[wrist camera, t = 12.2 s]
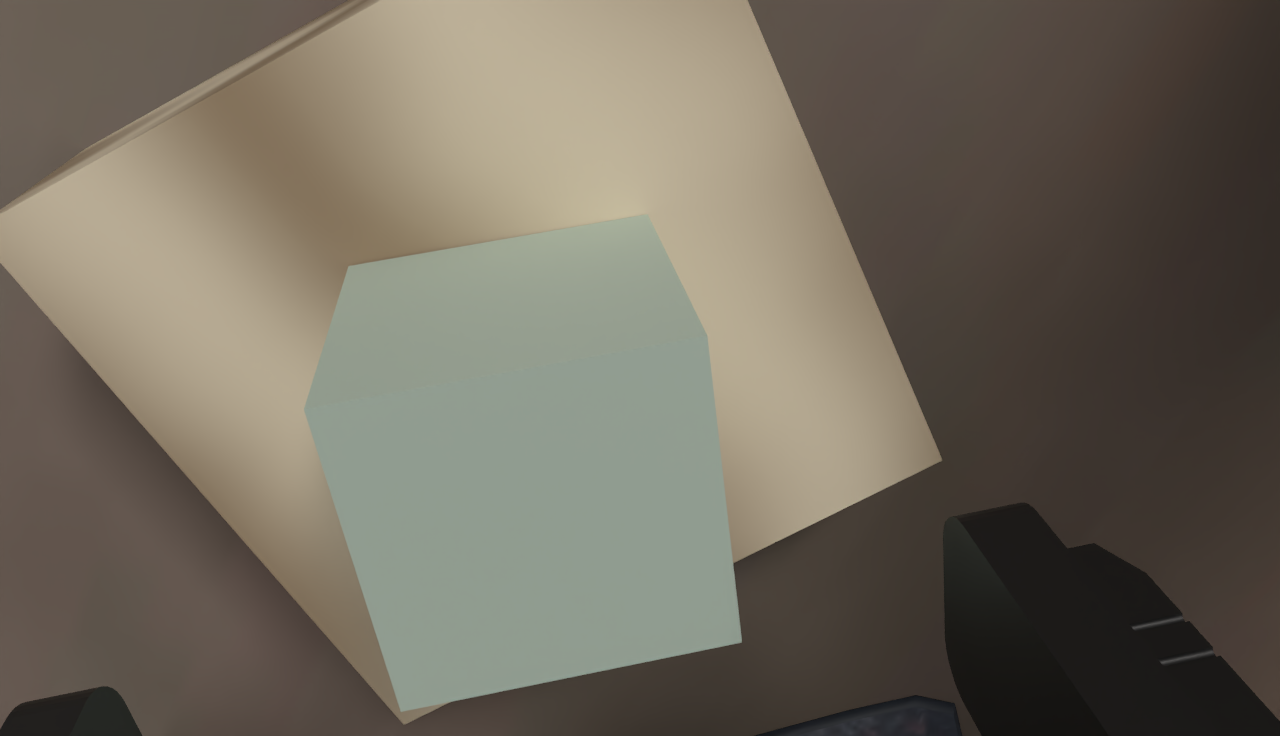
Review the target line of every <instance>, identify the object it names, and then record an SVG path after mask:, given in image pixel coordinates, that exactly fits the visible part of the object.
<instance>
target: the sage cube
mask: <svg viewBox="0 0 1280 736" xmlns="http://www.w3.org/2000/svg"><path fill="white" fill-rule="evenodd" d="M304 411H305V415H306V418H307V421H308V424H309V427H310V430H311V433H312V436H313V440H314V443H315V446H316V449H317V452H318V455H319V458H320V461H321V464H322V468H323V471H324V474H325V477H326V480H327V483H328V486H329V489H330V492H331V496H332V499H333V502H334V505H335V508H336V511H337V514H338V517H339V521H340V524H341V527H342V530H343V533H344V536H345V539H346V542H347V545H348V549H349V552H350V555H351V558H352V561H353V564H354V567H355V570H356V574H357V577H358V580H359V583H360V586H361V589H362V592H363V595H364V598H365V602H366V605H367V608H368V611H369V614H370V617H371V620H372V623H373V627H374V630H375V633H376V636H377V639H378V642H379V645H380V648H381V651H382V655H383V658H384V661H385V664H386V667H387V670H388V673H389V676H390V680H391V683H392V686H393V689H394V692H395V695H396V698H397V701H398V704H399V708H400V711H401V712H403V711H408V710H413V709H418V708H423V707H428V706H432V705H437V704H442V703H447V702H452V701H457V700H462V699H467V698H472V697H477V696H482V695H486V694H491V693H496V692H501V691H506V690H511V689H516V688H521V687H526V686H531V685H535V684H540V683H545V682H550V681H555V680H560V679H565V678H570V677H575V676H580V675H585V674H589V673H594V672H599V671H604V670H609V669H614V668H619V667H624V666H629V665H634V664H638V663H643V662H648V661H653V660H658V659H663V658H668V657H673V656H678V655H683V654H688V653H692V652H697V651H702V650H707V649H712V648H717V647H722V646H727V645H732V644H737V643H741V642H742V638H741V629H740V620H739V611H738V603H737V594H736V585H735V576H734V567H733V558H732V549H731V541H730V532H729V523H728V514H727V505H726V496H725V487H724V479H723V470H722V461H721V452H720V443H719V434H718V425H717V417H716V408H715V399H714V390H713V381H712V372H711V363H710V355H709V346H708V337H707V334H706V332H705V330H704V328H703V326H702V324H701V322H700V320H699V318H698V316H697V314H696V312H695V310H694V307H693V305H692V303H691V301H690V299H689V297H688V295H687V293H686V291H685V289H684V287H683V285H682V283H681V281H680V279H679V277H678V275H677V273H676V271H675V269H674V267H673V265H672V263H671V261H670V259H669V257H668V255H667V253H666V251H665V249H664V247H663V244H662V242H661V240H660V238H659V236H658V234H657V232H656V230H655V228H654V226H653V224H652V222H651V220H650V218H649V216H648V214H645V215H640V216H634V217H628V218H622V219H617V220H611V221H605V222H599V223H594V224H588V225H582V226H576V227H571V228H565V229H559V230H553V231H548V232H542V233H536V234H530V235H524V236H519V237H513V238H507V239H501V240H496V241H490V242H484V243H478V244H473V245H467V246H461V247H455V248H450V249H444V250H438V251H432V252H427V253H421V254H415V255H409V256H403V257H398V258H392V259H386V260H380V261H375V262H369V263H363V264H357V265H352V266H348V269H347V273H346V276H345V279H344V282H343V285H342V289H341V292H340V295H339V298H338V301H337V305H336V308H335V311H334V314H333V317H332V321H331V324H330V327H329V330H328V333H327V337H326V340H325V343H324V346H323V349H322V353H321V356H320V359H319V362H318V365H317V369H316V372H315V375H314V378H313V381H312V385H311V388H310V391H309V394H308V398H307V401H306V404H305V407H304Z"/></svg>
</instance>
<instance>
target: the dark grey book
mask: <svg viewBox="0 0 1280 736" xmlns="http://www.w3.org/2000/svg"><path fill="white" fill-rule="evenodd" d="M756 736H962V733H961V729H960V724H959V720H958V716H957V711H956V707H955V704H954V703H950V702H945V701H940V700H936V699H931V698H926V697H921V696H917V695H916V696H911V697H906V698H902V699H897V700H893V701H888V702H884V703H879V704H875V705H870V706H866V707H861V708H856V709H852V710H848V711H844V712H841V713H837V714H833V715H829V716H826V717H822V718H818V719H815V720H811V721H807V722H804V723H800V724H796V725H792V726H789V727H785V728H781V729H778V730H774V731H770V732H767V733H763V734H759V735H756Z"/></svg>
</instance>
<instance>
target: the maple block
mask: <svg viewBox="0 0 1280 736" xmlns="http://www.w3.org/2000/svg"><path fill="white" fill-rule="evenodd" d="M645 214H648V216H649V218H650V220H651V222H652V224H653V226H654V228H655V230H656V232H657V234H658V236H659V238H660V240H661V242H662V244H663V247H664V249H665V251H666V253H667V255H668V257H669V259H670V261H671V263H672V265H673V267H674V269H675V271H676V273H677V275H678V277H679V279H680V281H681V283H682V285H683V287H684V289H685V291H686V293H687V295H688V297H689V299H690V301H691V303H692V305H693V307H694V310H695V312H696V314H697V316H698V318H699V320H700V322H701V324H702V326H703V328H704V330H705V332H706V334H707V337H708V346H709V355H710V363H711V372H712V381H713V390H714V399H715V408H716V417H717V425H718V434H719V443H720V452H721V461H722V470H723V479H724V487H725V496H726V505H727V514H728V523H729V532H730V541H731V549H732V558H733V563H734V562H736V561H738V560H740V559H743V558H745V557H747V556H749V555H751V554H753V553H755V552H757V551H759V550H761V549H763V548H765V547H767V546H769V545H771V544H773V543H775V542H777V541H779V540H781V539H783V538H785V537H787V536H789V535H791V534H793V533H795V532H797V531H800V530H802V529H804V528H806V527H808V526H810V525H812V524H814V523H816V522H818V521H820V520H822V519H824V518H826V517H828V516H830V515H832V514H834V513H836V512H838V511H840V510H842V509H844V508H846V507H848V506H850V505H852V504H855V503H857V502H859V501H861V500H863V499H865V498H867V497H869V496H871V495H873V494H875V493H877V492H879V491H881V490H883V489H885V488H887V487H889V486H891V485H893V484H895V483H897V482H899V481H901V480H903V479H905V478H907V477H909V476H912V475H914V474H916V473H918V472H920V471H922V470H924V469H926V468H928V467H930V466H932V465H934V464H936V463H938V462H940V461H942V458H941V456H940V453H939V451H938V448H937V446H936V444H935V441H934V439H933V437H932V434H931V432H930V430H929V427H928V425H927V423H926V420H925V418H924V415H923V413H922V411H921V408H920V406H919V404H918V401H917V399H916V397H915V394H914V392H913V390H912V387H911V385H910V382H909V380H908V378H907V375H906V373H905V371H904V368H903V366H902V364H901V361H900V359H899V356H898V354H897V352H896V349H895V347H894V345H893V342H892V340H891V338H890V335H889V333H888V331H887V328H886V326H885V323H884V321H883V319H882V316H881V314H880V312H879V309H878V307H877V305H876V302H875V300H874V298H873V295H872V293H871V290H870V288H869V286H868V283H867V281H866V279H865V276H864V274H863V272H862V269H861V267H860V265H859V262H858V260H857V257H856V255H855V253H854V250H853V248H852V246H851V243H850V241H849V239H848V236H847V234H846V232H845V229H844V227H843V224H842V222H841V220H840V217H839V215H838V213H837V210H836V208H835V206H834V203H833V201H832V199H831V196H830V194H829V191H828V189H827V187H826V184H825V182H824V180H823V177H822V175H821V173H820V170H819V168H818V166H817V163H816V161H815V158H814V156H813V154H812V151H811V149H810V147H809V144H808V142H807V140H806V137H805V135H804V133H803V130H802V128H801V125H800V123H799V121H798V118H797V116H796V114H795V111H794V109H793V107H792V104H791V102H790V100H789V97H788V95H787V92H786V90H785V88H784V85H783V83H782V81H781V78H780V76H779V74H778V71H777V69H776V67H775V64H774V62H773V59H772V57H771V55H770V52H769V50H768V48H767V45H766V43H765V41H764V38H763V36H762V34H761V31H760V29H759V26H758V24H757V22H756V19H755V17H754V15H753V12H752V10H751V8H750V5H749V3H748V1H747V0H348V1H347V2H345V3H343V4H341V5H340V6H338V7H336V8H334V9H332V10H331V11H329V12H327V13H325V14H324V15H322V16H320V17H318V18H317V19H315V20H313V21H311V22H309V23H308V24H306V25H304V26H302V27H301V28H299V29H297V30H295V31H293V32H292V33H290V34H288V35H286V36H285V37H283V38H281V39H279V40H278V41H276V42H274V43H272V44H270V45H269V46H267V47H265V48H263V49H262V50H260V51H258V52H256V53H254V54H253V55H251V56H249V57H247V58H246V59H244V60H242V61H240V62H239V63H237V64H235V65H233V66H231V67H230V68H228V69H226V70H224V71H223V72H221V73H219V74H217V75H215V76H214V77H212V78H210V79H208V80H207V81H205V82H203V83H201V84H200V85H198V86H196V87H194V88H192V89H191V90H189V91H187V92H185V93H184V94H182V95H180V96H178V97H176V98H175V99H173V100H171V101H169V102H168V103H166V104H164V105H162V106H161V107H159V108H157V109H155V110H153V111H152V112H150V113H148V114H146V115H145V116H143V117H141V118H139V119H137V120H136V121H134V122H132V123H130V124H129V125H127V126H125V127H123V128H122V129H120V130H118V131H116V132H114V133H113V134H111V135H109V136H107V137H106V138H104V139H102V140H100V141H98V142H97V143H95V144H93V145H91V146H90V147H88V148H86V149H85V150H83V151H82V152H80V153H79V154H78V155H76V156H75V157H73V158H72V159H71V160H69V161H68V162H66V163H65V164H64V165H62V166H61V167H59V168H58V169H57V170H55V171H54V172H52V173H51V174H50V175H48V176H47V177H45V178H44V179H43V180H41V181H40V182H39V183H37V184H36V185H34V186H33V187H32V188H30V189H29V190H27V191H26V192H25V193H23V194H22V195H20V196H19V197H18V198H16V199H15V200H13V201H12V202H11V203H9V204H8V205H6V206H5V207H4V208H2V209H1V210H0V263H1V264H2V265H3V266H4V267H5V268H6V270H7V271H8V272H9V273H10V274H11V275H12V276H13V278H14V279H15V280H16V281H17V282H18V283H19V284H20V286H21V287H22V288H23V289H24V290H25V291H26V292H27V294H28V295H29V296H30V297H31V298H32V299H33V300H34V302H35V303H36V304H37V305H38V306H39V307H40V308H41V310H42V311H43V312H44V313H45V314H46V315H47V316H48V318H49V319H50V320H51V321H52V322H53V323H54V325H55V326H56V327H57V328H58V329H59V330H60V331H61V333H62V334H63V335H64V336H65V337H66V338H67V339H68V341H69V342H70V343H71V344H72V345H73V346H74V347H75V349H76V350H77V351H78V352H79V353H80V354H81V355H82V357H83V358H84V359H85V360H86V361H87V362H88V363H89V365H90V366H91V367H92V368H93V369H94V370H95V371H96V373H97V374H98V375H99V376H100V377H101V378H102V380H103V381H104V382H105V383H106V384H107V385H108V386H109V388H110V389H111V390H112V391H113V392H114V393H115V394H116V396H117V397H118V398H119V399H120V400H121V401H122V402H123V404H124V405H125V406H126V407H127V408H128V409H129V410H130V412H131V413H132V414H133V415H134V416H135V417H136V418H137V420H138V421H139V422H140V423H141V424H142V425H143V426H144V428H145V429H146V430H147V431H148V432H149V433H150V434H151V436H152V437H153V438H154V439H155V440H156V441H157V443H158V444H159V445H160V446H161V447H162V448H163V449H164V451H165V452H166V453H167V454H168V455H169V456H170V457H171V459H172V460H173V461H174V462H175V463H176V464H177V465H178V467H179V468H180V469H181V470H182V471H183V472H184V473H185V475H186V476H187V477H188V478H189V479H190V480H191V481H192V483H193V484H194V485H195V486H196V487H197V488H198V489H199V491H200V492H201V493H202V494H203V495H204V496H205V498H206V499H207V500H208V501H209V502H210V503H211V504H212V506H213V507H214V508H215V509H216V510H217V511H218V512H219V514H220V515H221V516H222V517H223V518H224V519H225V520H226V522H227V523H228V524H229V525H230V526H231V527H232V528H233V530H234V531H235V532H236V533H237V534H238V535H239V536H240V538H241V539H242V540H243V541H244V542H245V543H246V544H247V546H248V547H249V548H250V549H251V550H252V551H253V553H254V554H255V555H256V556H257V557H258V558H259V559H260V561H261V562H262V563H263V564H264V565H265V566H266V567H267V569H268V570H269V571H270V572H271V573H272V574H273V575H274V577H275V578H276V579H277V580H278V581H279V582H280V583H281V585H282V586H283V587H284V588H285V589H286V590H287V591H288V593H289V594H290V595H291V596H292V597H293V598H294V599H295V601H296V602H297V603H298V604H299V605H300V606H301V608H302V609H303V610H304V611H305V612H306V613H307V614H308V616H309V617H310V618H311V619H312V620H313V621H314V622H315V624H316V625H317V626H318V627H319V628H320V629H321V630H322V632H323V633H324V634H325V635H326V636H327V637H328V638H329V640H330V641H331V642H332V643H333V644H334V645H335V646H336V648H337V649H338V650H339V651H340V652H341V653H342V654H343V656H344V657H345V658H346V659H347V660H348V661H349V662H350V664H351V665H352V666H353V667H354V668H355V669H356V671H357V672H358V673H359V674H360V675H361V676H362V677H363V679H364V680H365V681H366V682H367V683H368V684H369V685H370V687H371V688H372V689H373V690H374V691H375V692H376V693H377V695H378V696H379V697H380V698H381V699H382V700H383V701H384V703H385V704H386V705H387V706H388V707H389V708H390V709H391V711H392V712H393V713H394V714H395V715H396V716H397V717H398V719H399V720H400V721H401V722H402V723H403V724H404V725H405V724H407V723H409V722H411V721H413V720H415V719H417V718H419V717H421V716H423V715H425V714H427V713H429V712H431V711H433V710H435V709H437V708H439V707H441V706H443V705H445V704H447V703H449V702H447V703H442V704H437V705H432V706H428V707H423V708H418V709H413V710H408V711H403V712H401V711H400V708H399V704H398V701H397V698H396V695H395V692H394V689H393V686H392V683H391V680H390V676H389V673H388V670H387V667H386V664H385V661H384V658H383V655H382V651H381V648H380V645H379V642H378V639H377V636H376V633H375V630H374V627H373V623H372V620H371V617H370V614H369V611H368V608H367V605H366V602H365V598H364V595H363V592H362V589H361V586H360V583H359V580H358V577H357V574H356V570H355V567H354V564H353V561H352V558H351V555H350V552H349V549H348V545H347V542H346V539H345V536H344V533H343V530H342V527H341V524H340V521H339V517H338V514H337V511H336V508H335V505H334V502H333V499H332V496H331V492H330V489H329V486H328V483H327V480H326V477H325V474H324V471H323V468H322V464H321V461H320V458H319V455H318V452H317V449H316V446H315V443H314V440H313V436H312V433H311V430H310V427H309V424H308V421H307V418H306V415H305V411H304V407H305V404H306V401H307V398H308V394H309V391H310V388H311V385H312V381H313V378H314V375H315V372H316V369H317V365H318V362H319V359H320V356H321V353H322V349H323V346H324V343H325V340H326V337H327V333H328V330H329V327H330V324H331V321H332V317H333V314H334V311H335V308H336V305H337V301H338V298H339V295H340V292H341V289H342V285H343V282H344V279H345V276H346V273H347V269H348V266H352V265H357V264H363V263H369V262H375V261H380V260H386V259H392V258H398V257H403V256H409V255H415V254H421V253H427V252H432V251H438V250H444V249H450V248H455V247H461V246H467V245H473V244H478V243H484V242H490V241H496V240H501V239H507V238H513V237H519V236H524V235H530V234H536V233H542V232H548V231H553V230H559V229H565V228H571V227H576V226H582V225H588V224H594V223H599V222H605V221H611V220H617V219H622V218H628V217H634V216H640V215H645Z"/></svg>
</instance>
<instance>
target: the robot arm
mask: <svg viewBox="0 0 1280 736" xmlns="http://www.w3.org/2000/svg"><path fill="white" fill-rule="evenodd" d="M943 550H944V608H945V642H946V649H947V655H948V659H949V664H950V667H951V671H952V674H953V678H954V681H955V683H956V686H957V689H958V691H959V694H960V696H961V698H962V700H963V702H964V704H965V706H966V708H967V710H968V711H969V713H970V715H971V717H972V719H973V720H974V722H975V724H976V726H977V728H978V730H979V731H980V733H981V735H982V736H1280V721H1279V720H1278V719H1277V718H1276V717H1275V716H1274V715H1273V713H1272V712H1271V711H1270V710H1269V709H1268V708H1267V707H1266V706H1265V705H1264V703H1263V702H1262V701H1261V700H1260V699H1259V698H1258V697H1257V696H1256V695H1255V693H1254V692H1253V691H1252V690H1251V689H1250V688H1249V687H1248V686H1247V685H1246V684H1245V682H1244V681H1243V680H1242V679H1241V678H1240V677H1239V676H1238V675H1237V674H1236V672H1235V671H1234V670H1233V669H1232V668H1231V667H1230V666H1229V665H1228V664H1227V662H1226V661H1225V660H1224V659H1223V658H1222V657H1221V656H1217V657H1216V656H1215V654H1214V652H1213V647H1212V646H1211V645H1210V644H1209V642H1208V641H1207V640H1206V639H1205V638H1204V637H1203V636H1202V635H1201V634H1200V632H1199V631H1198V630H1197V629H1196V628H1195V627H1194V626H1193V625H1192V624H1191V623H1190V621H1188V622H1185V621H1184V619H1183V617H1182V613H1181V611H1180V610H1179V609H1178V608H1177V607H1176V606H1175V605H1174V604H1173V603H1172V601H1171V600H1170V599H1169V598H1168V597H1167V596H1166V595H1165V594H1164V593H1163V591H1162V590H1161V589H1160V588H1159V587H1158V586H1157V585H1156V584H1155V583H1154V581H1153V580H1152V579H1151V578H1150V577H1149V576H1148V575H1147V574H1146V573H1145V572H1143V571H1141V570H1140V569H1138V568H1136V567H1134V566H1133V565H1131V564H1129V563H1128V562H1126V561H1124V560H1122V559H1121V558H1119V557H1117V556H1115V555H1114V554H1112V553H1110V552H1108V551H1107V550H1105V549H1103V548H1101V547H1100V546H1098V545H1096V544H1094V543H1093V544H1088V545H1084V546H1079V547H1074V548H1069V549H1067V548H1066V547H1065V545H1064V544H1063V543H1062V542H1061V541H1060V539H1059V538H1058V537H1057V536H1056V534H1055V533H1054V532H1053V531H1052V530H1051V528H1050V527H1049V526H1048V525H1047V523H1046V522H1045V521H1044V520H1043V519H1042V517H1041V516H1040V515H1039V514H1038V513H1037V511H1036V510H1035V509H1034V508H1033V507H1031V506H1030V505H1029V504H1026V503H1017V504H1012V505H1007V506H1003V507H998V508H993V509H988V510H983V511H978V512H973V513H968V514H963V515H958V516H953V517H950V518H948V519H947V520H946V522H945V526H944V532H943ZM0 736H142V734H141V732H140V730H139V728H138V727H137V725H136V723H135V721H134V719H133V717H132V715H131V713H130V711H129V709H128V707H127V705H126V704H125V702H124V700H123V699H122V697H121V696H120V695H119V693H118V692H117V691H115V690H114V689H113V688H110V687H98V688H93V689H88V690H83V691H78V692H73V693H68V694H63V695H58V696H53V697H49V698H44V699H39V700H34V701H29V702H25V703H22V704H20V705H18V706H17V707H15V708H14V709H13V710H12V711H11V713H10V714H9V716H8V717H7V719H6V720H5V722H4V724H3V726H2V727H1V729H0Z"/></svg>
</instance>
